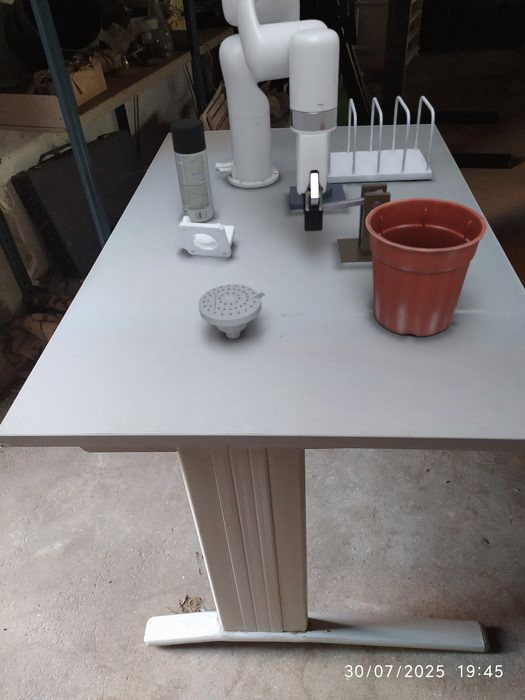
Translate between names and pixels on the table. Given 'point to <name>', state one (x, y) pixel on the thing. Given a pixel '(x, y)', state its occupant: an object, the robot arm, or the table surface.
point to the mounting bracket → (205, 238)
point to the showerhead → (230, 307)
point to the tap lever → (347, 202)
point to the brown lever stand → (363, 226)
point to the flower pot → (421, 261)
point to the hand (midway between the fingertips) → (312, 220)
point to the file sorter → (380, 154)
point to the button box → (331, 195)
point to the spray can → (192, 169)
